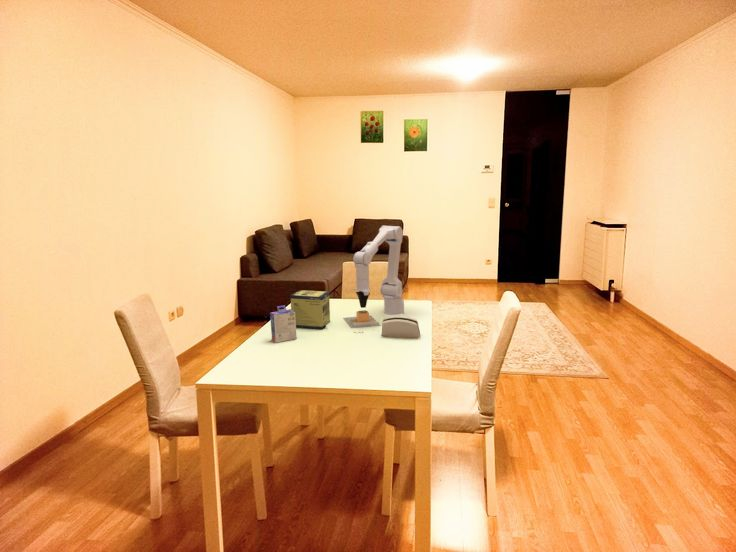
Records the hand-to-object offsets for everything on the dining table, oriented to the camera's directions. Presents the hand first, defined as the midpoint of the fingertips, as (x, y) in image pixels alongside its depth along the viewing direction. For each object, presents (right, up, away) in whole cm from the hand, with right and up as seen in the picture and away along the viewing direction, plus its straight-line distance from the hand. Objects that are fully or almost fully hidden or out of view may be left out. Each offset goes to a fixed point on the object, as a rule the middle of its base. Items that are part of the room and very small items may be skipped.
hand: (363, 307), depth 235 cm
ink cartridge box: (-34, -13, -16) cm, 39 cm away
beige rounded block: (+16, -12, -13) cm, 24 cm away
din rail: (0, -9, +2) cm, 9 cm away
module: (0, -7, +1) cm, 7 cm away
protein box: (-24, -9, +4) cm, 26 cm away
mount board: (-1, -8, +5) cm, 10 cm away
